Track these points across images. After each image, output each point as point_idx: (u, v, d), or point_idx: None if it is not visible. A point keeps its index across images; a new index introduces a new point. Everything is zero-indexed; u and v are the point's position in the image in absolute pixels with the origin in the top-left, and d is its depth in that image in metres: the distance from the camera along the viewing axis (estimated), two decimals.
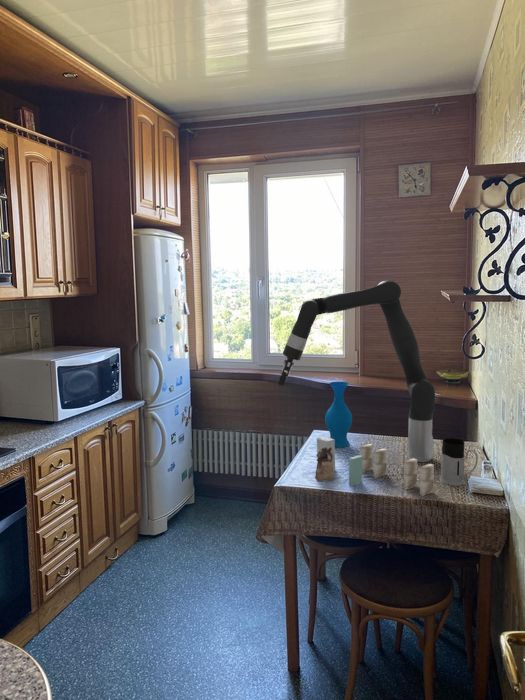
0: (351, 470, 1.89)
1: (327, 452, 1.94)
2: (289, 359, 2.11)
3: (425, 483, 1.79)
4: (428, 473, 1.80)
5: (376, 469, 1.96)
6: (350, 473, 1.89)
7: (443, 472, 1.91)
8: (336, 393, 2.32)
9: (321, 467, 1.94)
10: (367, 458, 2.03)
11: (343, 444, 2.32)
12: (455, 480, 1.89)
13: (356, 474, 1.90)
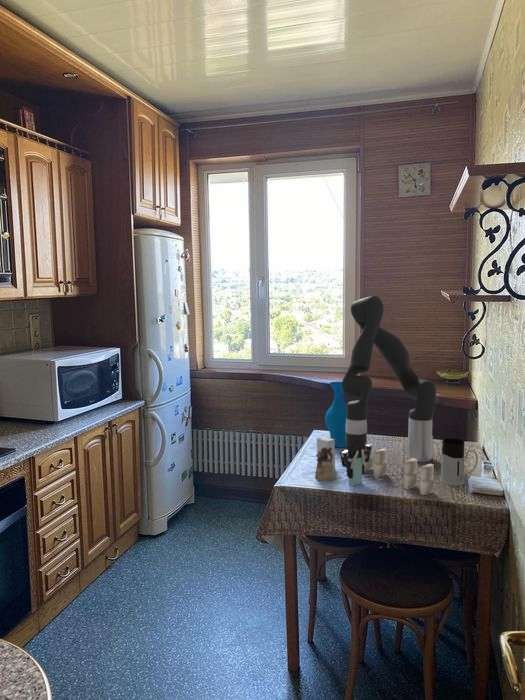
0: None
1: (327, 452, 1.94)
2: None
3: (425, 483, 1.79)
4: (428, 473, 1.80)
5: (376, 469, 1.96)
6: None
7: (443, 472, 1.91)
8: (336, 393, 2.32)
9: (321, 467, 1.94)
10: None
11: (343, 444, 2.32)
12: (455, 480, 1.89)
13: (356, 474, 1.90)
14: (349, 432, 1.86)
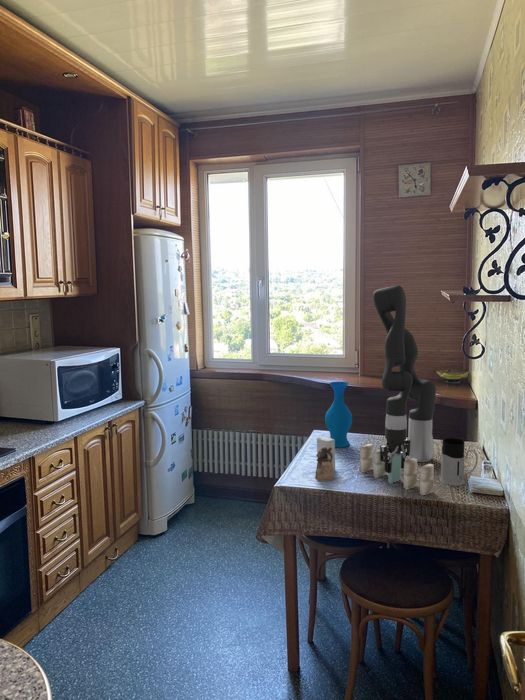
0: None
1: (327, 452, 1.94)
2: None
3: (425, 483, 1.79)
4: (428, 473, 1.80)
5: (376, 469, 1.96)
6: None
7: (443, 472, 1.91)
8: (336, 393, 2.32)
9: (321, 467, 1.94)
10: (367, 458, 2.03)
11: (343, 444, 2.32)
12: (455, 480, 1.89)
13: (395, 472, 1.91)
14: (389, 427, 1.88)
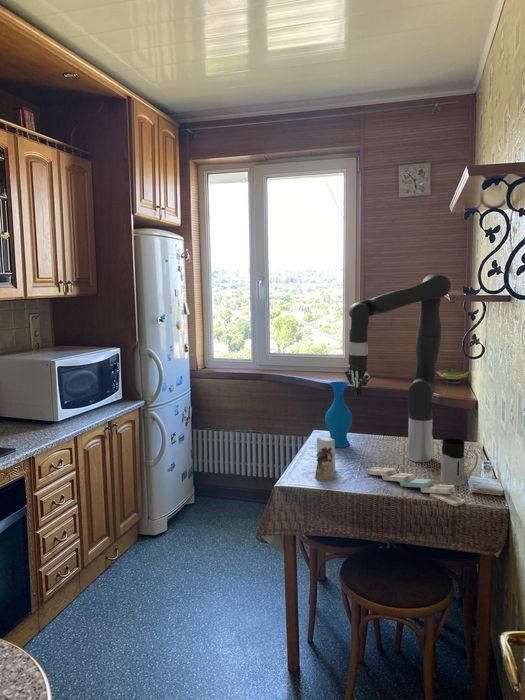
0: (414, 485, 1.84)
1: (327, 452, 1.94)
2: None
3: None
4: None
5: (389, 480, 1.92)
6: (411, 484, 1.85)
7: (443, 472, 1.91)
8: (336, 393, 2.32)
9: (321, 467, 1.94)
10: None
11: (343, 444, 2.32)
12: (455, 480, 1.89)
13: None
14: (365, 354, 2.06)
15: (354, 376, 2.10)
